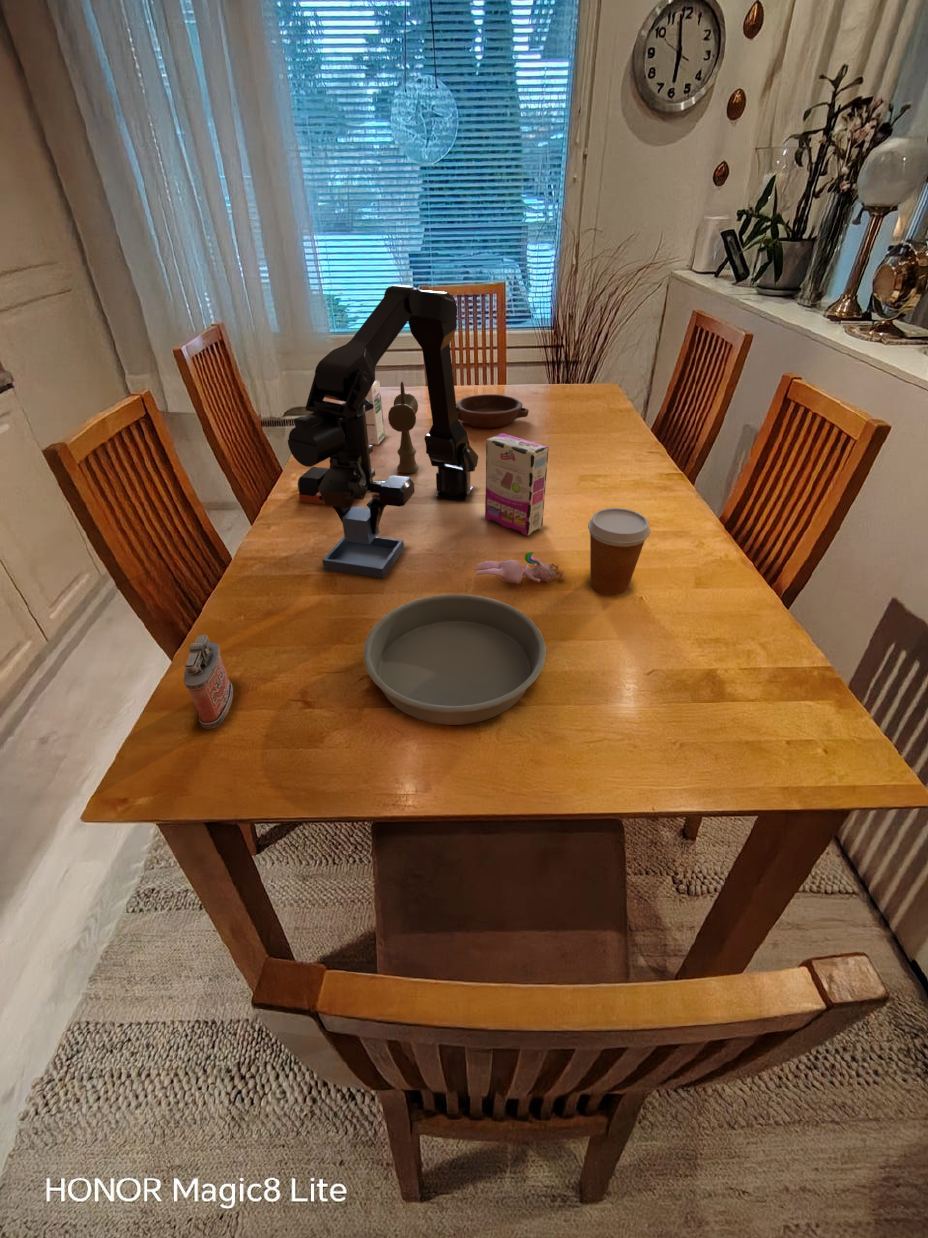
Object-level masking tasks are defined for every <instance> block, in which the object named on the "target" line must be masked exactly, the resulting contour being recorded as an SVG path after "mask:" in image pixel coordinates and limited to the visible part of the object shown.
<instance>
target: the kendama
mask: <svg viewBox="0 0 928 1238" xmlns="http://www.w3.org/2000/svg"><path fill="white" fill-rule="evenodd" d="M418 410H419V403H418V400H417V399H416V397H415V396H414V395H413V394H411V393H408V392H405V384H404V382H403V381H401V382H400V393H399V394H398V395H397V396H395V397H394V400H393V405H392V406H391V407H390V409H389V411H388V414H387V420H388V424H389V426H390V427H391V428H392V429H393V430H394V431H396V432H400V433H401V435H400V444H399V448H398V449H397V451H396V452H397V455H398V456H399V462H398V465H397V467H396V470H397V472H399V473H401V474H414V473H416V472H417V471H418V470H419V464H418V463H417V462H416V453H417V449H416V447H414V445H413V442H412V437H411V433H410V431H412V430H413V429H414V427H415V426H416V422H417V416H416V414H417V412H418Z"/></svg>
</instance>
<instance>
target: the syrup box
mask: <svg viewBox="0 0 928 1238" xmlns="http://www.w3.org/2000/svg"><path fill="white" fill-rule="evenodd" d="M365 399H366V400H368V401H369V402H371V403H372V404H373V405H374V407H373V409H371V410H369V411H367V412H365V415H366V424H367V433H368V442H369V445H374V446H375V445H377V446H379V445H380V443H381V442H382V441H383V440H384V438H385V437H386V431H385V422H384V421H385V420H384V412H383V411H384V410H383V403H382V395H381V385H380V380H377V379H375V381H374V383H373V385H372V387H371V389H370V391H369V393H368V395H367V396H366V398H365Z"/></svg>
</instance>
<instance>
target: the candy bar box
mask: <svg viewBox="0 0 928 1238" xmlns="http://www.w3.org/2000/svg"><path fill="white" fill-rule="evenodd" d="M485 443H486V444H485V500H484V501H485V505H484V506H485V507H484V508H485V510H484V518H485V520H487V521H489V522H492V523H495V524H497V525H499V526H502V527H504V528H507V529H509V530H512V531H514V532H517V533H519V534H522V535H524V536H527V537H528V536H530V535H533V534H534V533H536V532H538V531H540V530H541V529H543V526H544V525H543V524H544V510H545V498H546V485H547V471H548V463H549V462H548V460H549V449H550V447H549V445H544V444H541V443H537V442H534V441H531V440H527V439H524V438H520V437H517V436H513V435H509V434H507V433H503V432H502V433H499V434H497V435H494V436H492V437H489V438H486V440H485Z"/></svg>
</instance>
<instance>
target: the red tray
mask: <svg viewBox="0 0 928 1238" xmlns="http://www.w3.org/2000/svg"><path fill="white" fill-rule="evenodd" d="M320 496H321V494H320V492H318V493H317V494H316V495H315V496H308V495H300V493H299V492H298V498H299V502H301V503H308V504H315V505H324V506H326V505H325V504H324V501H321V500H320V499H319V497H320ZM357 500H358V499H356V500H355V501H354V503H355V502H356V501H357Z"/></svg>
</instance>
